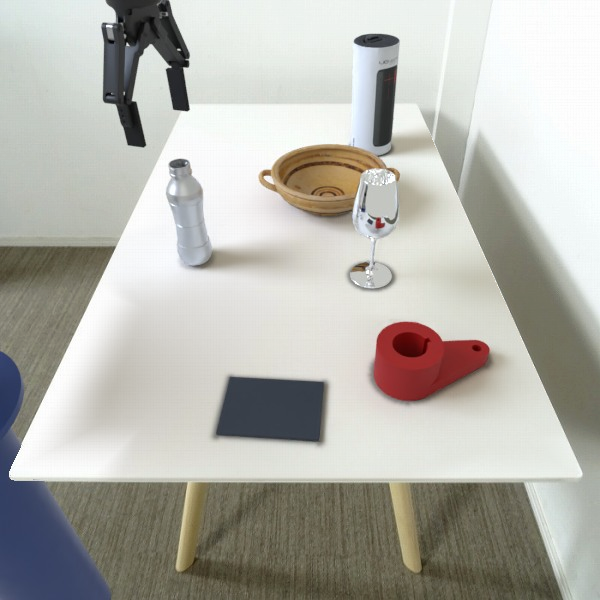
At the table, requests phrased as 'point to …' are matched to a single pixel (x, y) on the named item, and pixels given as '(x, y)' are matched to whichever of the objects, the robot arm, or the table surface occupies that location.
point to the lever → (422, 360)
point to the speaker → (374, 91)
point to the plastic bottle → (188, 213)
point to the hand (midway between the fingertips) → (160, 126)
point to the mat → (272, 409)
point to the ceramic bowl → (322, 177)
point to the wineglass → (374, 221)
